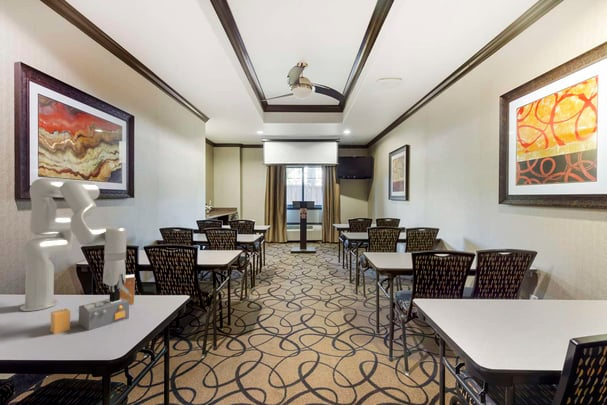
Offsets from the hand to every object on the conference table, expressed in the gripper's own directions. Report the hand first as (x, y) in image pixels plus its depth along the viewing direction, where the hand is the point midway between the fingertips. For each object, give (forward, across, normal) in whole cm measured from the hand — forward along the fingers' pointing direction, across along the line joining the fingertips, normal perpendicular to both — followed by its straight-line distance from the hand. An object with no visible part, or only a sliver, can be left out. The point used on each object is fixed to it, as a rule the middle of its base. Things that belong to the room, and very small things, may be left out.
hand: (114, 300), depth 116 cm
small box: (+8, -15, +10) cm, 20 cm away
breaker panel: (+7, 0, -4) cm, 8 cm away
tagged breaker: (+6, 0, 0) cm, 6 cm away
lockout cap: (+7, -4, -17) cm, 19 cm away
